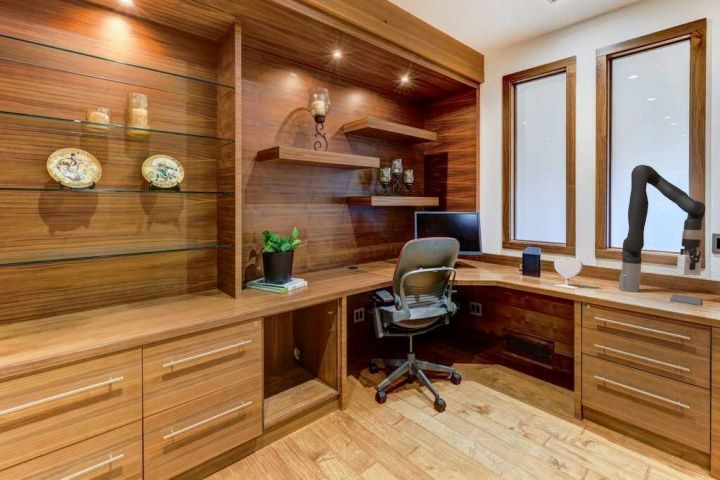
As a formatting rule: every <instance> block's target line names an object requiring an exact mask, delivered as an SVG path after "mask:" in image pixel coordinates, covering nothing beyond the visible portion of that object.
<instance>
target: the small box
mask: <svg viewBox="0 0 720 480" xmlns="http://www.w3.org/2000/svg"><path fill="white" fill-rule="evenodd" d="M691 257H693V256H691ZM702 259H703V256H702V255H700V259H699V262H697V263H696V265H695V270H690V269H689V267H690V258H689V256H688V255H680V254H678V255H677V265H676V274H678V275H682V276H701V270H702V269H701V268H702ZM696 260H697V259H696Z"/></svg>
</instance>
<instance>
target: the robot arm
mask: <svg viewBox="0 0 720 480" xmlns="http://www.w3.org/2000/svg"><path fill="white" fill-rule="evenodd" d="M630 184H631V186H630V187H631V188H630V189H631V190H630V195H629V201H628V202H629V203H628V210H627V223H628V233H627V236H626V238H625V239H624V240H623V242H622V252H621V253H622V254H621V258H622V262H621V263H622V264H621V273H619V282H618V283H619V284H618V289H619V290H620V291H623V292H631V293H638V292H640V285H641V273H642V272H641V271H642V250H643V248H644V246H645V226H646V222H647V218H648V217H647V216H648V213H649V198H648V193H647V185H650V186H652V187H654V188H655V189H656V190H658V191H659V193H661V194H662V196H664V197H665V198H667V199H668V200H669V201H671V202H672V203H673V204H675V205H676V206H677V207H678V208H679V209H681V210H682V211H684V212H685V213H686V214H687V217H686V219H685V220H684V223H683V231H682V235H681V236H682V238H681V247H684V248H680V250H679V252H680V254H679V255H688V256H689V258H690V267H689V269H690V270H695V265H696V263H697V262H699V259H700V256H701V254H702V253H701V251H698V248H701V244H702V227H703V219H704V216H705V213H706V205H705V203H704V202H702V201H699V200H695V199H693V198H692V197H690V196H689V194H688V193H687V192H685V191H684V190H682V189H681V188H679V187H677V186H676V185H675V184H673V183H671V182H670V181H668V180H667V179H665V177H663V176H662V175H661V174H659V172H657V170H655V169H654V168H653V167H652V166H650V165H646V164H639V165H637V166H635V167H634V168H633V169H632V171H631V182H630ZM691 256H693V257H691ZM696 259H697V260H696Z"/></svg>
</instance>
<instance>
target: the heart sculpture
mask: <svg viewBox="0 0 720 480" xmlns="http://www.w3.org/2000/svg"><path fill="white" fill-rule="evenodd" d="M553 266H554V269H555V271H556V272H557V273H558V274H559V275H560V276H562V277H563V278H565V281H564V284H562V283H561V284H559V283H558V284H555V286H556V287H563V288H569V289H574V288H575V289H576V288H578V289H579V286H578V287H577V286H573V285H570V278H572V277H575V276H577V275H578V274H580V273H581V272H582V271H583V268H584V263H583V261H581V260H579V259H577V258H570V259H569V258H567V257H560V258H557V259H554V262H553ZM576 290H577V289H576Z"/></svg>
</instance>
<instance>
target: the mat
mask: <svg viewBox="0 0 720 480" xmlns="http://www.w3.org/2000/svg"><path fill="white" fill-rule="evenodd" d="M669 302H673V303H678V304H679V303H681V304H685V305H686V304H687V305H693V306H701V304H702V298H701V297H697V296H690V295H683V294H675V293H672V294H671V296H670V299H669Z"/></svg>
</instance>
